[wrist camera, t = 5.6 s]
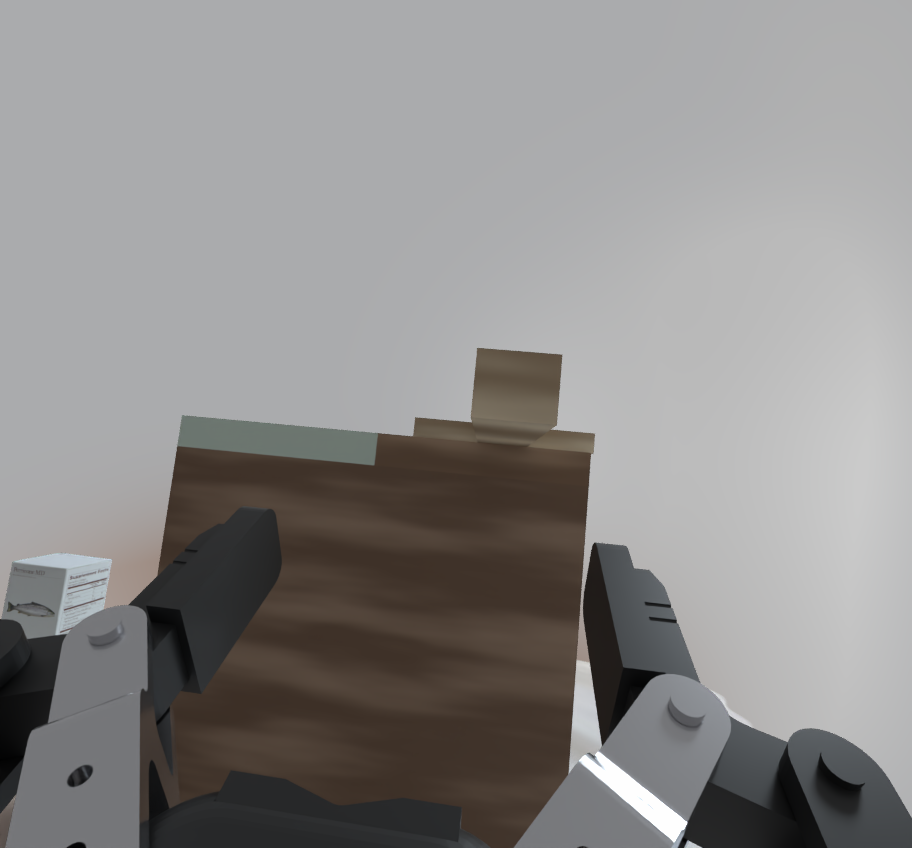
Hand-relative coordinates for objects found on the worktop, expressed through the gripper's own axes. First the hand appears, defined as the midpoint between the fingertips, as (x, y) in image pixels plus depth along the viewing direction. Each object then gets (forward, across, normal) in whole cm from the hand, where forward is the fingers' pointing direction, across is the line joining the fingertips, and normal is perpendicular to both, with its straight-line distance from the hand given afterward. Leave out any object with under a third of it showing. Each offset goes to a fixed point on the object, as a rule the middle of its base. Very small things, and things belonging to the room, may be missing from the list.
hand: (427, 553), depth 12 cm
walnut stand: (+10, +6, +35) cm, 37 cm away
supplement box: (+28, +52, +45) cm, 74 cm away
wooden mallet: (+17, -2, +5) cm, 18 cm away
